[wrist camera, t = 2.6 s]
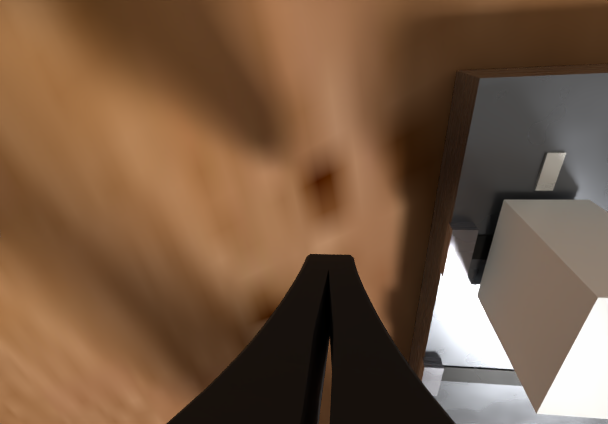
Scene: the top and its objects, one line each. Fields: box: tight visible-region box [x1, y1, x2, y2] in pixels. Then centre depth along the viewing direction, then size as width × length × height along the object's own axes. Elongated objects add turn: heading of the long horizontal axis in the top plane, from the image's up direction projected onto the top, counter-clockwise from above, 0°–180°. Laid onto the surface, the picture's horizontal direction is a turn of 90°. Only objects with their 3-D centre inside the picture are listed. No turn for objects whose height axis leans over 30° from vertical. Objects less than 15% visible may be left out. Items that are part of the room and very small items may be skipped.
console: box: [409, 64, 608, 424], centre depth 13 cm, size 13×18×2 cm
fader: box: [477, 200, 608, 419], centre depth 9 cm, size 2×4×4 cm, turn 3°
